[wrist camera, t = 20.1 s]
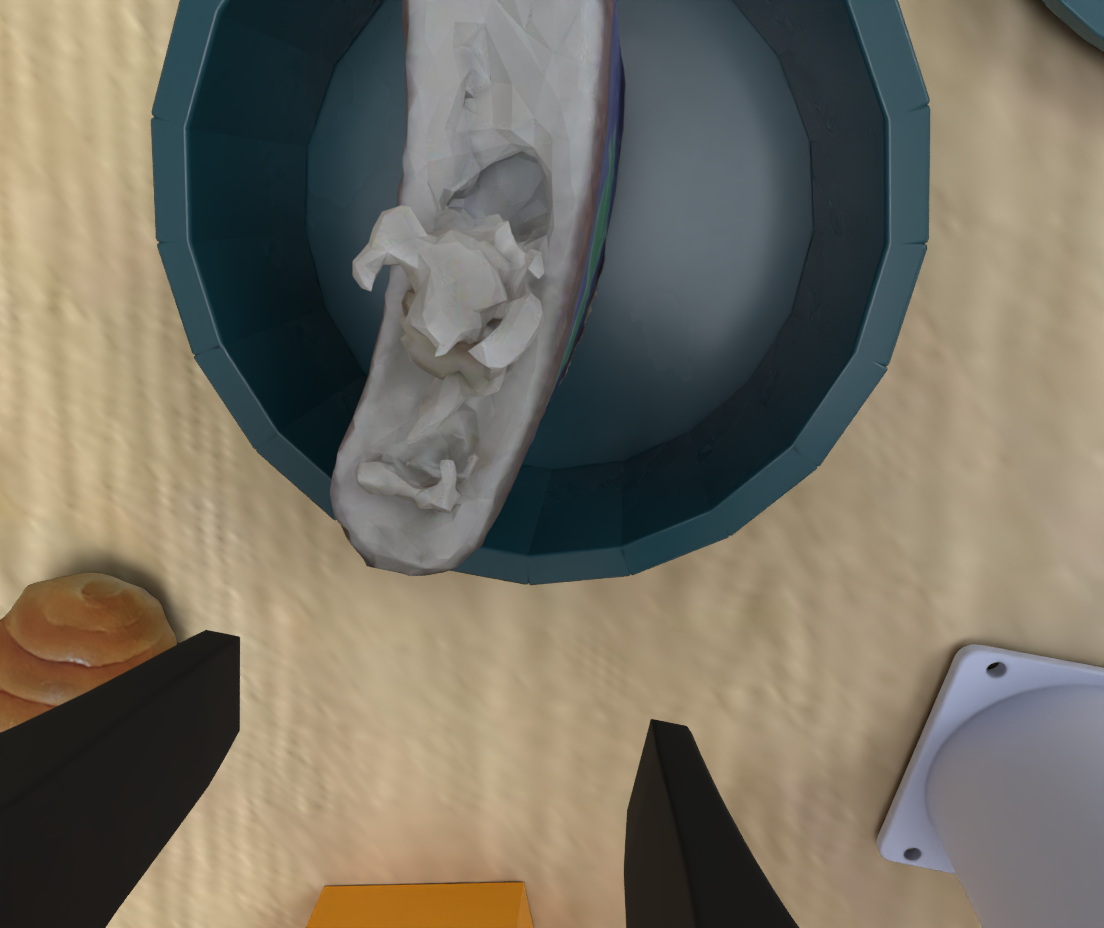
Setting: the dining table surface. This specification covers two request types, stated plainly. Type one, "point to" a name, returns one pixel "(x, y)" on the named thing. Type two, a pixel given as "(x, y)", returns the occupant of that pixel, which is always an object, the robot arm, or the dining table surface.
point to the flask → (480, 267)
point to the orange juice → (423, 906)
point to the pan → (630, 254)
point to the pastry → (74, 641)
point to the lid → (1082, 18)
